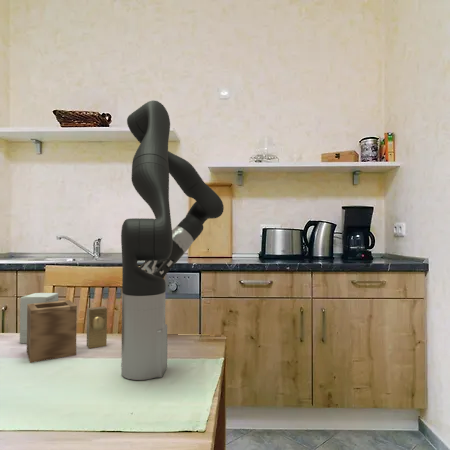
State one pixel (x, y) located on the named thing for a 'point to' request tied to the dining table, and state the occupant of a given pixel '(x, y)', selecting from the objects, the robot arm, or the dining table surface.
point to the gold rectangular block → (96, 327)
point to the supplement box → (23, 309)
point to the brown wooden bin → (51, 330)
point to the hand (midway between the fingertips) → (138, 286)
